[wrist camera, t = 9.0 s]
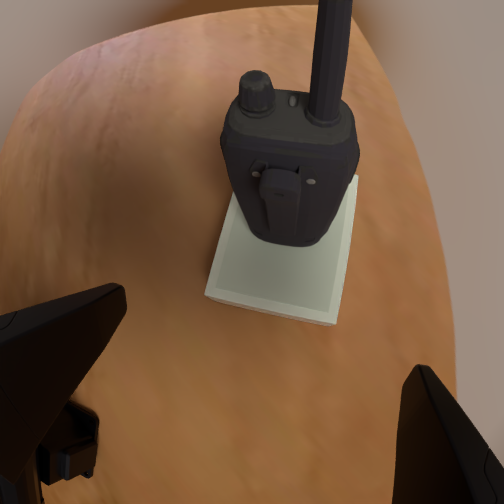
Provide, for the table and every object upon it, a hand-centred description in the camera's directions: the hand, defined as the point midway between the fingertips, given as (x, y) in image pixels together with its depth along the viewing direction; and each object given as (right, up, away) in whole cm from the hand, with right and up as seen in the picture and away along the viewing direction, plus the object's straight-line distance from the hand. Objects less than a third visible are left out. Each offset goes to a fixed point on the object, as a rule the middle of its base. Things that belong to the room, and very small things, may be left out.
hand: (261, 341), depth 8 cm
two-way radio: (+2, +4, +11) cm, 12 cm away
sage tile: (+2, +3, +14) cm, 14 cm away
